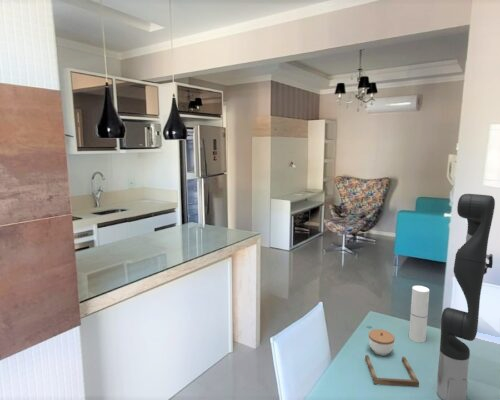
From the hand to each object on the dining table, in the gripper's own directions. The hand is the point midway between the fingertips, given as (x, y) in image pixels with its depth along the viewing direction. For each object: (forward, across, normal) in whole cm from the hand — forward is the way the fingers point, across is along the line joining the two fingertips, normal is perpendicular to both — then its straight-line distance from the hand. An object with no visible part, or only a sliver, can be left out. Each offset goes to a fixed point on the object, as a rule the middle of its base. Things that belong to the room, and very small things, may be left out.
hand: (472, 271), depth 163 cm
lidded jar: (+20, -29, -47) cm, 59 cm away
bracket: (+17, -22, -58) cm, 64 cm away
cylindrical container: (+26, -18, -27) cm, 41 cm away
